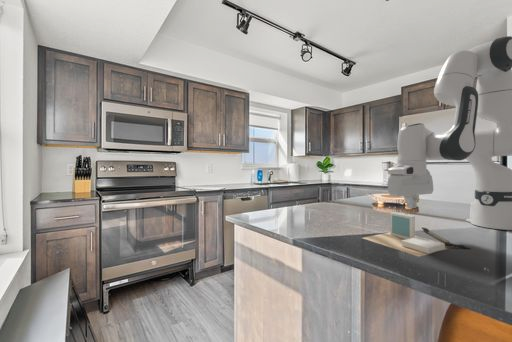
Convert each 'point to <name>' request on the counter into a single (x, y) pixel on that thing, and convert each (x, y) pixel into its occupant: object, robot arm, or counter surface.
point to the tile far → (402, 225)
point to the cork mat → (397, 243)
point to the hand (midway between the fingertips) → (411, 207)
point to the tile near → (423, 245)
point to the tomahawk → (444, 239)
